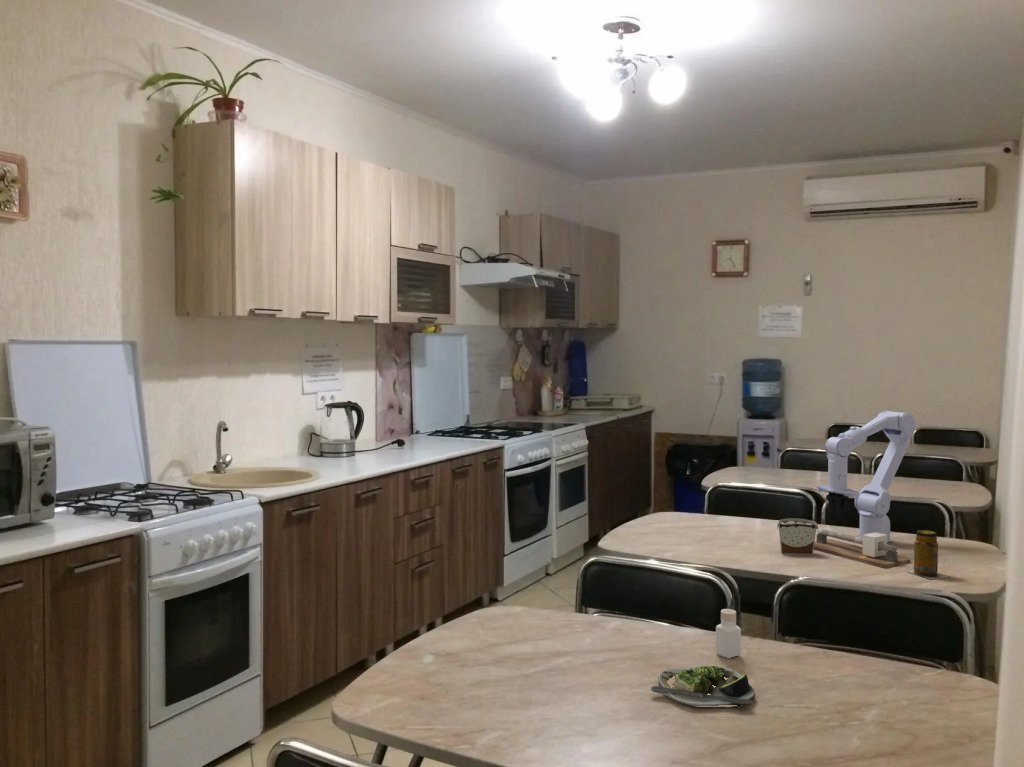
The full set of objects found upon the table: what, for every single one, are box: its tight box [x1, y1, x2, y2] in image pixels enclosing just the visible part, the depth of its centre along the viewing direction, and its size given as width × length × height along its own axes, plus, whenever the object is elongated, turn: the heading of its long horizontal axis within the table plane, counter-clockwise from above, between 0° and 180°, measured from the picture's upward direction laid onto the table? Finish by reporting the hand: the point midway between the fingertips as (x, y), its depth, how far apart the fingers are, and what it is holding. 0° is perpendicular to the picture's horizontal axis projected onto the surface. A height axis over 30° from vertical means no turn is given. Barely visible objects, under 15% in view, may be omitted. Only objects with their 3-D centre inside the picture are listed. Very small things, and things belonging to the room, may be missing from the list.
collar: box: [862, 532, 888, 557], centre depth 248 cm, size 6×4×6 cm, turn 120°
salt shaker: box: [715, 608, 742, 659], centre depth 174 cm, size 4×4×10 cm
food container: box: [776, 518, 819, 556], centre depth 257 cm, size 12×6×10 cm, turn 83°
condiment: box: [906, 529, 950, 580], centre depth 232 cm, size 7×8×12 cm
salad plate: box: [650, 664, 756, 707], centre depth 156 cm, size 19×18×5 cm
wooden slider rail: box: [813, 527, 911, 569], centre depth 254 cm, size 12×29×6 cm, turn 30°
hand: (837, 516), depth 264 cm, fingers closed
